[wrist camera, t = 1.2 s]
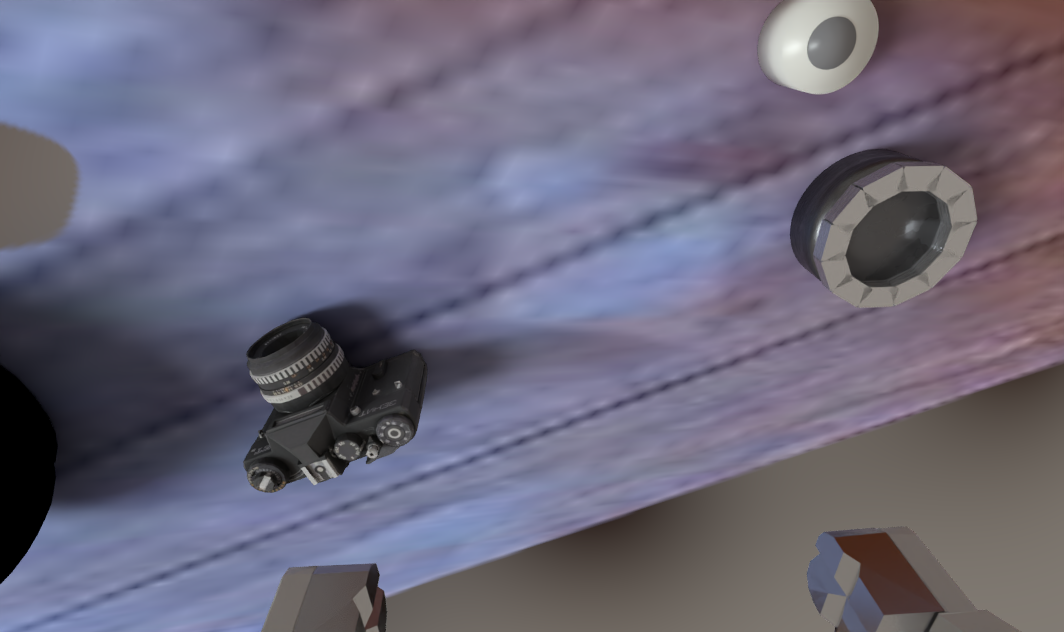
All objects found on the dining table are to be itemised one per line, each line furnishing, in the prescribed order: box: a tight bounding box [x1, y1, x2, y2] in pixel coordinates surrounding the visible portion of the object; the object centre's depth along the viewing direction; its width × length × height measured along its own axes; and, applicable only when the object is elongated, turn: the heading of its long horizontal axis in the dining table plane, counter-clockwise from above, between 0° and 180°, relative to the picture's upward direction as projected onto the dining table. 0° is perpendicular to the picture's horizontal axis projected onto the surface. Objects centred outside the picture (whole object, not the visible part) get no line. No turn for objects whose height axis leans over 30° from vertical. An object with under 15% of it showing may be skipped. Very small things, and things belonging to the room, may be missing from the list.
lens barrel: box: [790, 149, 977, 308], centre depth 43 cm, size 11×11×5 cm
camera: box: [244, 318, 427, 493], centre depth 44 cm, size 14×11×10 cm
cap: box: [757, 0, 879, 94], centre depth 36 cm, size 6×6×4 cm
